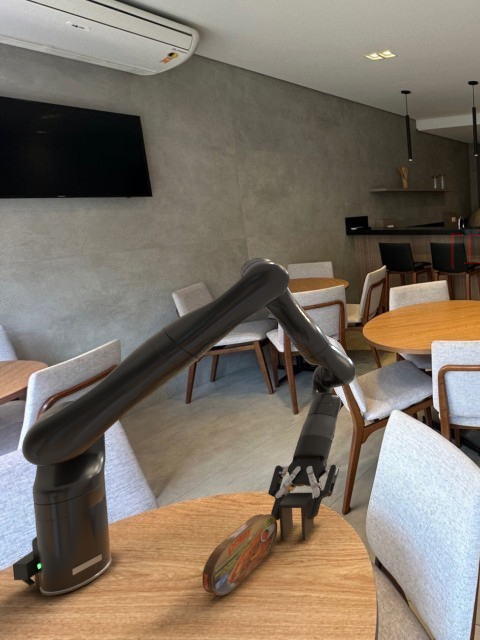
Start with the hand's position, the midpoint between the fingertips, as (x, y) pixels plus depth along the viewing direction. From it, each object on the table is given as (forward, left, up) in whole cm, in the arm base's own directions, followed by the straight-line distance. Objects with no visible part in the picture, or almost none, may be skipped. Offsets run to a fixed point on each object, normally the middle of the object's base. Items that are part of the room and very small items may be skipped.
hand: (293, 519), depth 87 cm
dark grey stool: (0, +2, -4) cm, 5 cm away
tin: (-5, -8, -5) cm, 11 cm away
